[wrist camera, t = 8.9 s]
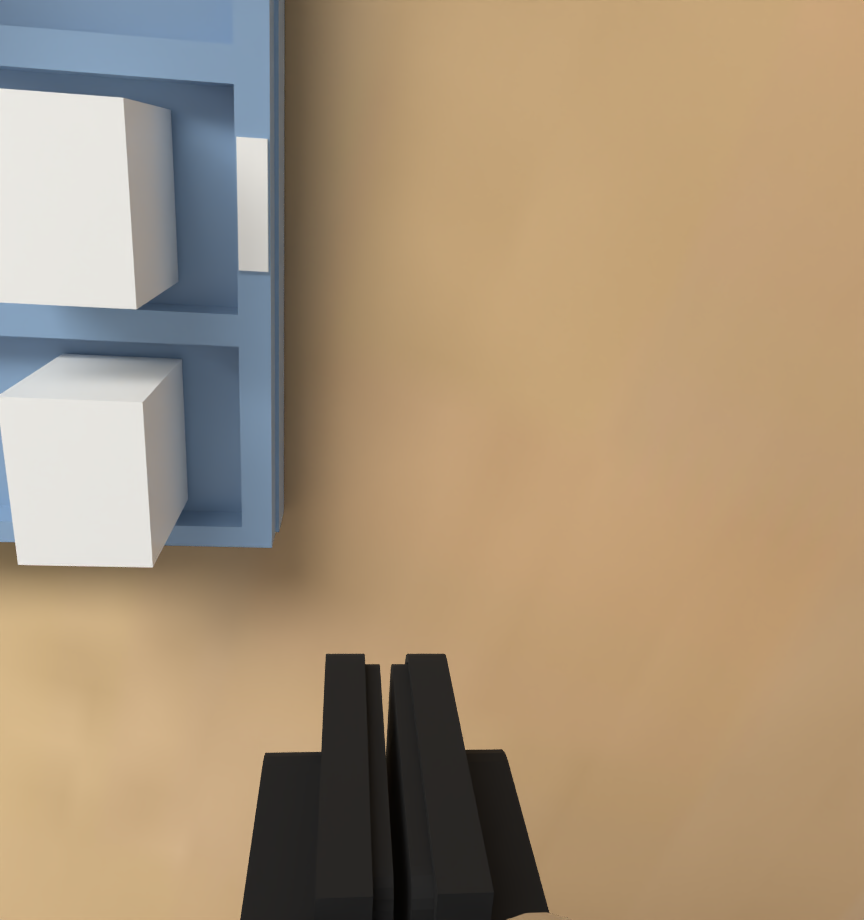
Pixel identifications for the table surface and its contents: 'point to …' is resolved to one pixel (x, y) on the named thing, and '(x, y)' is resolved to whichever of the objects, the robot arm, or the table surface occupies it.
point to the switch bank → (183, 235)
